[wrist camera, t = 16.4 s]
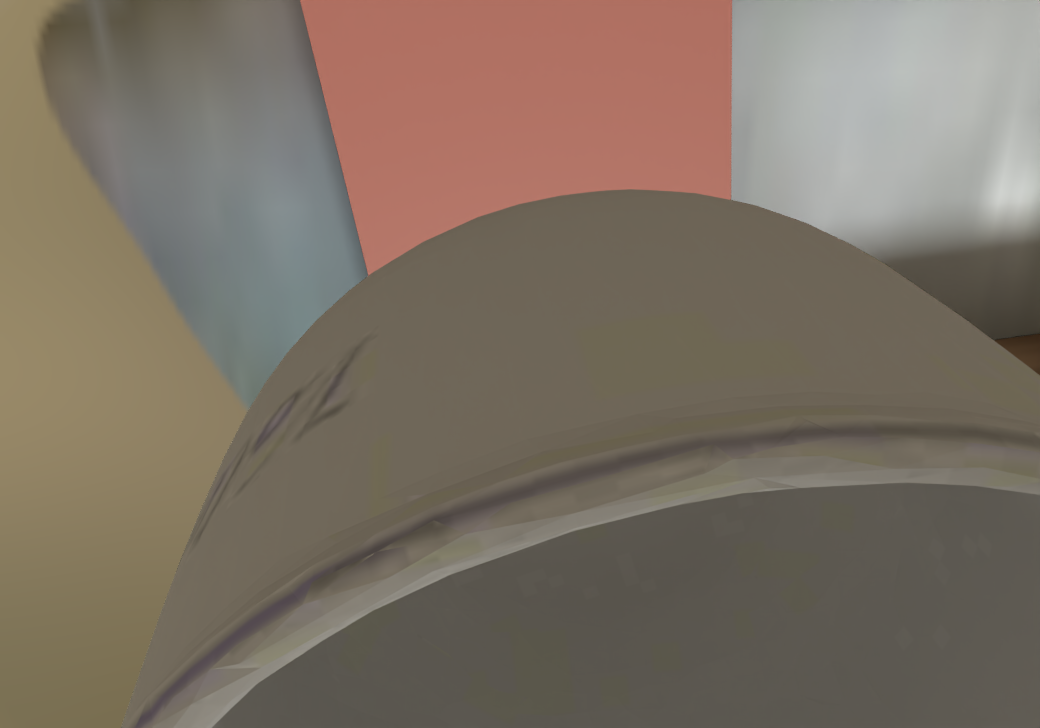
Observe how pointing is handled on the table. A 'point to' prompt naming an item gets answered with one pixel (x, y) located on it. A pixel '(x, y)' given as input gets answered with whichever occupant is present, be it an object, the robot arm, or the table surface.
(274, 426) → the teacup
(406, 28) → the pink flat slab
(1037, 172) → the table surface
